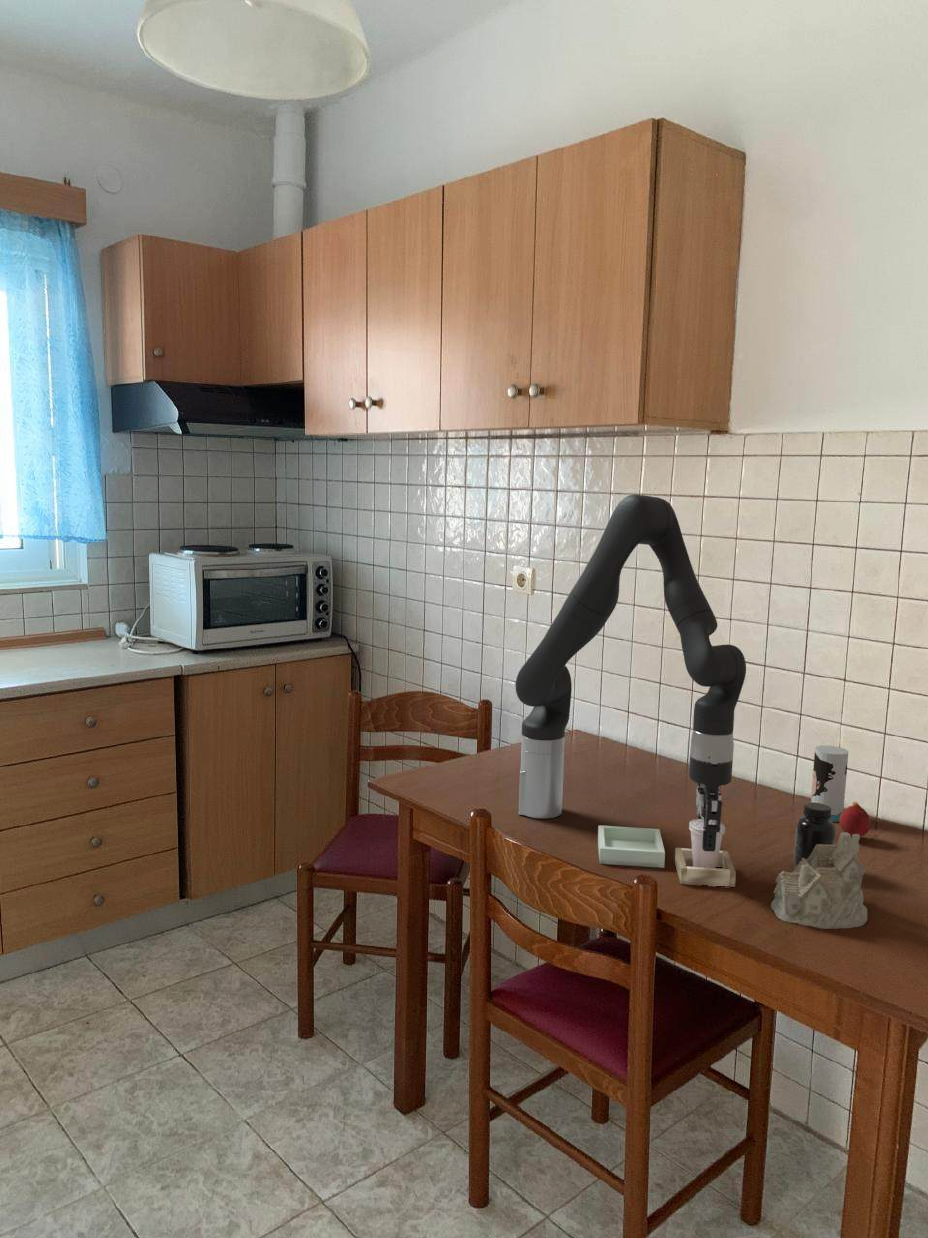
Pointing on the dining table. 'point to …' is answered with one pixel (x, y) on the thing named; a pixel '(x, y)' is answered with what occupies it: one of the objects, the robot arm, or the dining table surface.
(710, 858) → the smoothie
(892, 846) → the dining table surface
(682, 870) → the rectangular wooden frame
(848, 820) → the onion
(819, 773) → the cup
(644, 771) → the dining table surface
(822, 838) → the supplement bottle
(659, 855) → the tray
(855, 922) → the ceramic cottage
